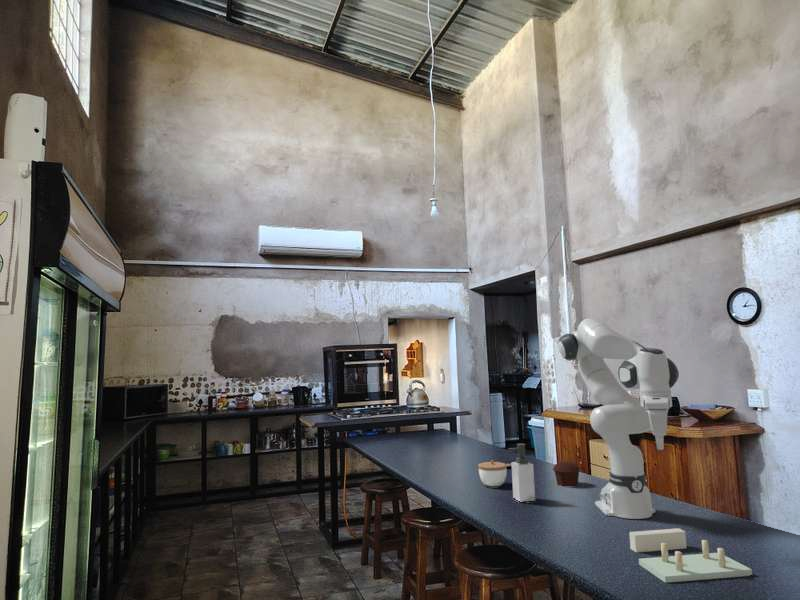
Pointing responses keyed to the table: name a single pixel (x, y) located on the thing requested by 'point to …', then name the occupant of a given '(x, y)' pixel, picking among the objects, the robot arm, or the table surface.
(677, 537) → the off-white rectangular block
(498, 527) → the table surface
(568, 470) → the muffin
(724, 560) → the rack
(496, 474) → the lidded bowl
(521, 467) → the soap dispenser
